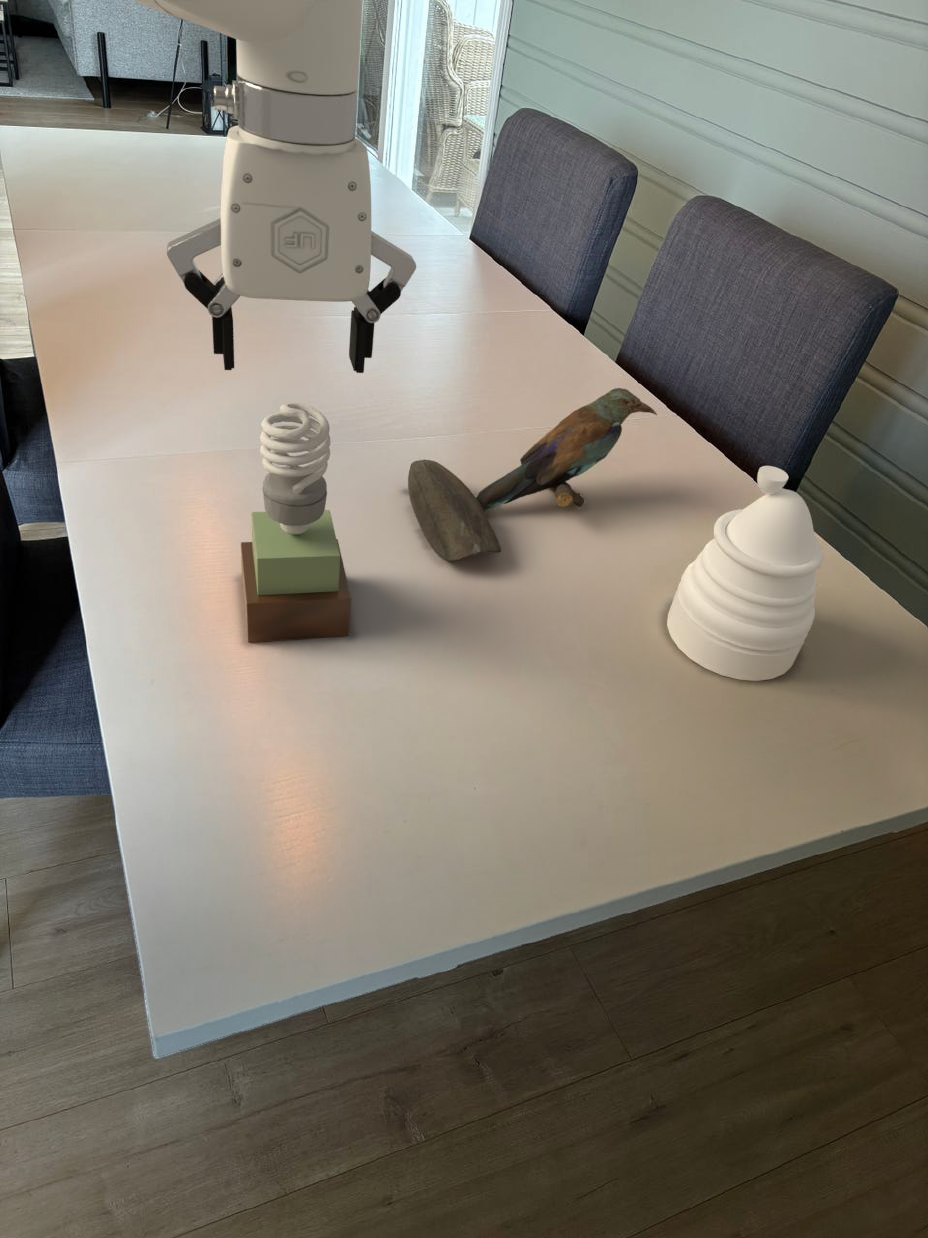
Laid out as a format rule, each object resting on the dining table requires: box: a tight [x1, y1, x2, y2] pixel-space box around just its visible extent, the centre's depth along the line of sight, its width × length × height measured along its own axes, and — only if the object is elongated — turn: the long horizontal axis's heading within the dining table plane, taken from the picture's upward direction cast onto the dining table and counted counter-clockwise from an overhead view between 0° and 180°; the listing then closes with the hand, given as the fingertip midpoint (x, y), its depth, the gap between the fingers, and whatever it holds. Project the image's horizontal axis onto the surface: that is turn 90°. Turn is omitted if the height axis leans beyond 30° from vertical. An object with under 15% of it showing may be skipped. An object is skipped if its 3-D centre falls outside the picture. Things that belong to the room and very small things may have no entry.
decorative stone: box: [407, 459, 502, 563], centre depth 97 cm, size 17×6×4 cm, turn 23°
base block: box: [240, 538, 352, 643], centre depth 84 cm, size 9×9×4 cm
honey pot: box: [666, 465, 825, 682], centre depth 85 cm, size 13×13×18 cm
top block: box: [250, 509, 340, 595], centre depth 81 cm, size 7×7×4 cm
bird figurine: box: [475, 387, 658, 514], centre depth 101 cm, size 13×10×20 cm
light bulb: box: [259, 402, 331, 535], centre depth 76 cm, size 6×6×12 cm
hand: (293, 363), depth 70 cm, fingers open, 9 cm apart
